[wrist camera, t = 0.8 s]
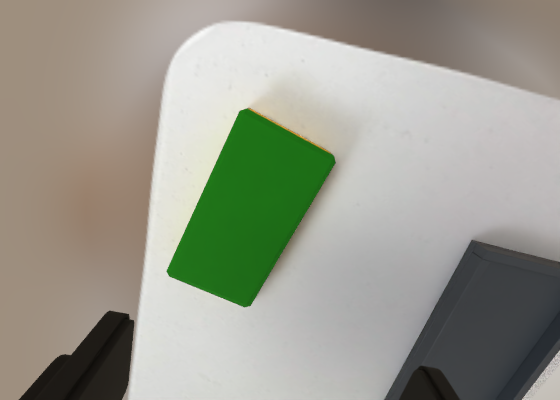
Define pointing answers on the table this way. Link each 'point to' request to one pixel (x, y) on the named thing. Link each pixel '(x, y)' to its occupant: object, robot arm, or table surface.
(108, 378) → the robot arm
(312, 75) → the table surface
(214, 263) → the dish sponge
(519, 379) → the tray
